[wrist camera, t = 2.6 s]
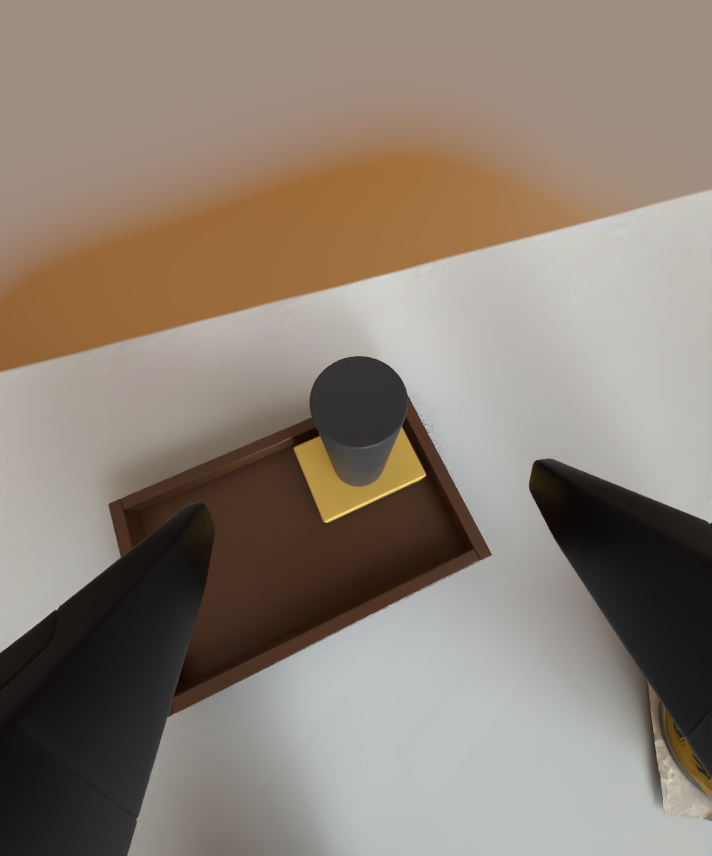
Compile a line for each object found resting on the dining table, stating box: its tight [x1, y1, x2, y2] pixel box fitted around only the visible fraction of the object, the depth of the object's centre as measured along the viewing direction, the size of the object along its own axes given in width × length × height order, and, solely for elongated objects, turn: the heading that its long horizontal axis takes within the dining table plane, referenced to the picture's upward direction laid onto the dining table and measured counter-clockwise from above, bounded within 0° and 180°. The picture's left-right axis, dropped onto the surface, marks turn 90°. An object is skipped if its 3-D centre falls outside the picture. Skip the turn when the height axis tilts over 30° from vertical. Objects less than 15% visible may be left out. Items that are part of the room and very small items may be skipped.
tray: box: [109, 395, 492, 718], centre depth 19 cm, size 18×11×2 cm, turn 114°
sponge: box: [294, 356, 426, 523], centre depth 15 cm, size 6×4×12 cm
